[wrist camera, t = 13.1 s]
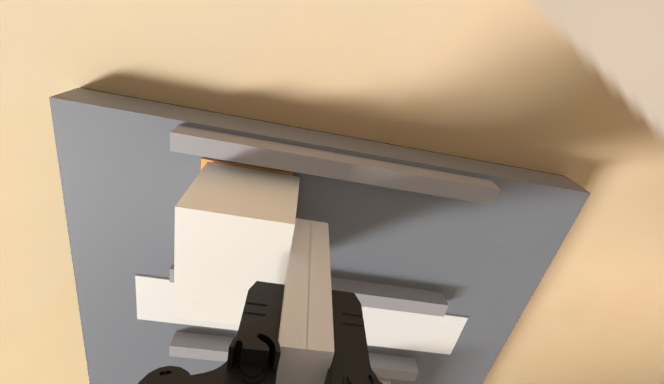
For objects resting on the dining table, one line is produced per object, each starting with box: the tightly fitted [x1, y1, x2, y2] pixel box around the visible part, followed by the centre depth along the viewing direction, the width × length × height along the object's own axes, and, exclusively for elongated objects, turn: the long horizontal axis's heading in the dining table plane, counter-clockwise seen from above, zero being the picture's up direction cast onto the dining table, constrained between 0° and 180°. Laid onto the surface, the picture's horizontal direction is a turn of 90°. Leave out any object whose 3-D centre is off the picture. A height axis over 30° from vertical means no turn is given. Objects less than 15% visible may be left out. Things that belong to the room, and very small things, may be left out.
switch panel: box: [49, 88, 590, 384], centre depth 21 cm, size 20×24×3 cm
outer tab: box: [174, 162, 300, 325], centre depth 15 cm, size 5×4×4 cm
